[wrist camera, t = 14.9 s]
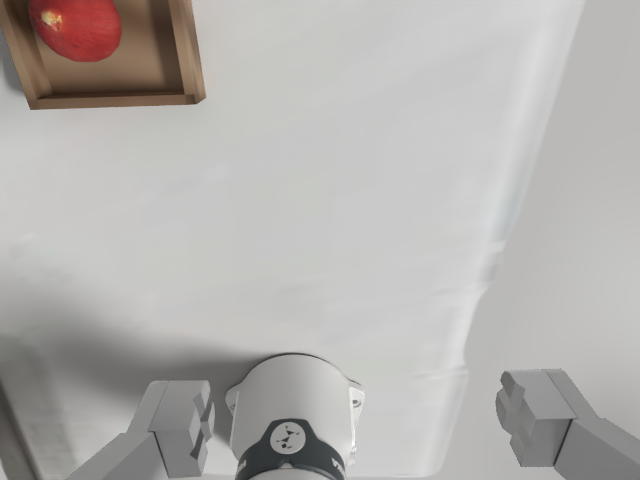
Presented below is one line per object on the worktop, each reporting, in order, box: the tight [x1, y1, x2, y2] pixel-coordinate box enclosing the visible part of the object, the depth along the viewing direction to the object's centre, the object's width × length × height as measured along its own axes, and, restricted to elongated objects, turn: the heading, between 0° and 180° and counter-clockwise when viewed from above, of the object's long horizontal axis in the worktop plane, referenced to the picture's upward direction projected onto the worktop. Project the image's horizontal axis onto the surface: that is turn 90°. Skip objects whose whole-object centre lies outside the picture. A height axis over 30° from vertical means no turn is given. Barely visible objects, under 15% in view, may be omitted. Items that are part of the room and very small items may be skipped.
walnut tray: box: [0, 0, 206, 110], centre depth 33 cm, size 13×14×4 cm
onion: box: [28, 0, 122, 62], centre depth 30 cm, size 6×6×8 cm
